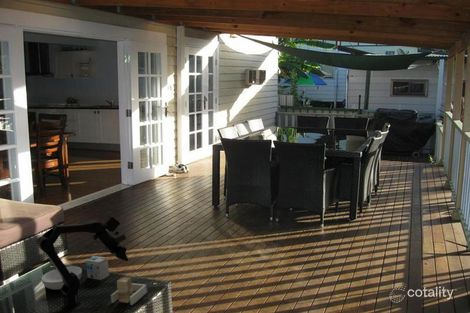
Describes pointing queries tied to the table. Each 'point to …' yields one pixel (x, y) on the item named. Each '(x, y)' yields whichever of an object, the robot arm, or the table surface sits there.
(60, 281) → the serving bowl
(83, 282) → the table surface
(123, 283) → the maple block
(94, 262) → the light bulb box
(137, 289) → the trap trough
